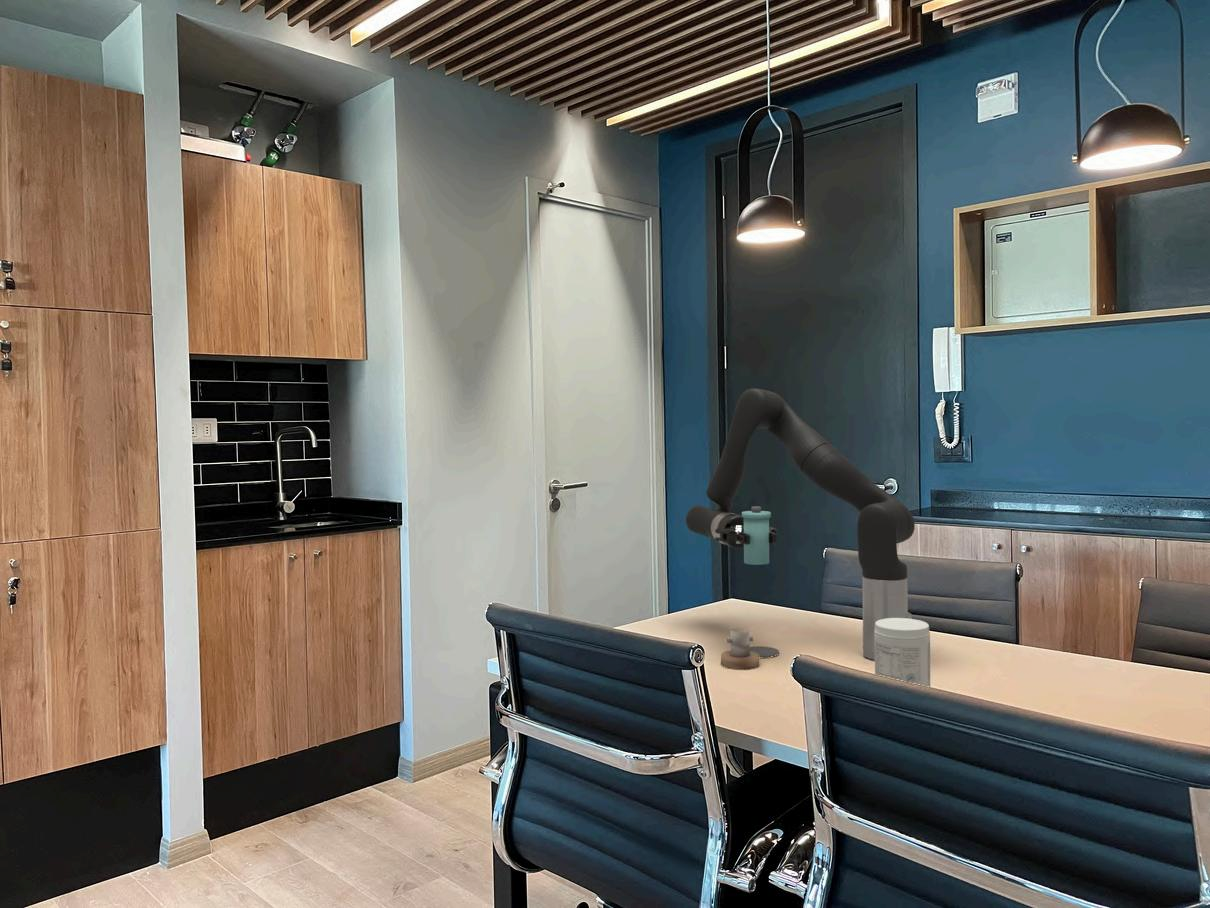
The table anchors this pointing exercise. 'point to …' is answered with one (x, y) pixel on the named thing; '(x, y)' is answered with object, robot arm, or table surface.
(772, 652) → the pad
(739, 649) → the post
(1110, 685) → the table surface
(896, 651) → the supplement tub
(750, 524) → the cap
